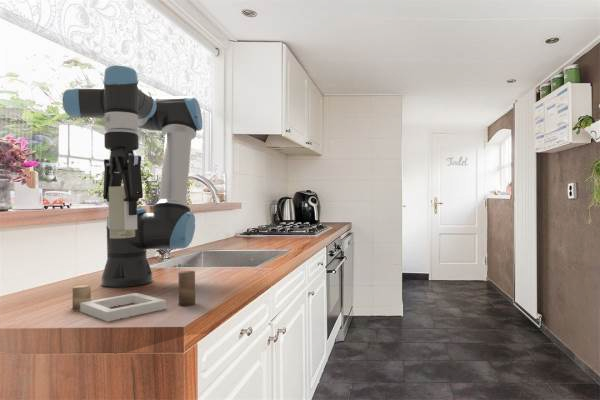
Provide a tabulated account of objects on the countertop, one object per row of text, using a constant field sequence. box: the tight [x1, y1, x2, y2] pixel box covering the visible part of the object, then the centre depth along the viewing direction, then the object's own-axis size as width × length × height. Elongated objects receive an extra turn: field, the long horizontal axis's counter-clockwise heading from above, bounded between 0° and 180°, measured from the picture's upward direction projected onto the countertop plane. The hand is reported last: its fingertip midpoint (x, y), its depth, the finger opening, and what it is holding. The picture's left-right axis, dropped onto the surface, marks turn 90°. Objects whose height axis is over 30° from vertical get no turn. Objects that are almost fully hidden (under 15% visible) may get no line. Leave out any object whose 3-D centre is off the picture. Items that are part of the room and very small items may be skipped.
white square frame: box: [79, 292, 167, 322], centre depth 103 cm, size 14×14×2 cm
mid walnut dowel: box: [177, 270, 196, 307], centre depth 108 cm, size 4×4×8 cm
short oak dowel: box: [71, 284, 92, 310], centre depth 106 cm, size 4×4×5 cm
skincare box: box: [109, 185, 135, 239], centre depth 103 cm, size 6×4×12 cm
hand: (122, 228), depth 103 cm, fingers closed on skincare box, 7 cm apart
